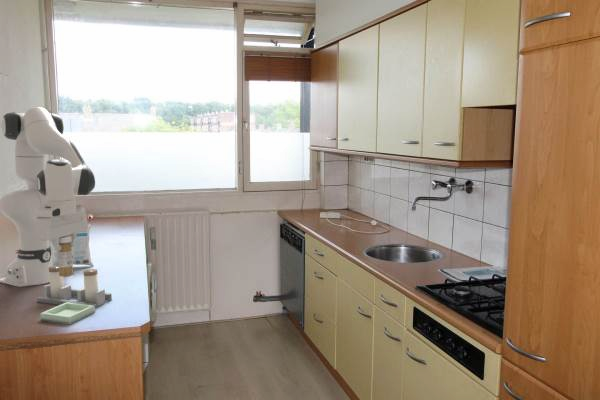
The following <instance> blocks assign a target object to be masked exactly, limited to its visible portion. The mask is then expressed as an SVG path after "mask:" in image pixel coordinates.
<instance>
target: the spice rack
mask: <svg viewBox="0 0 600 400" xmlns="http://www.w3.org/2000/svg"><path fill="white" fill-rule="evenodd" d="M105 291H106V290H105V289H100V290H99V289H98V291H97V292H95V303H96V304H94V303H86V302H85V287H82V288H80V289H76V288H72V285H68V284H67V285H65V286H64V287H62V288H60V299H55V298H51V292H50V283H49V284H46V285H44V286H43V293H44V294H43V296H38V297H37V298H36V300H37V302H38V303H43V304H51V305H58V306H59V305H61V304H64V303H66V302H70V303H78V304H85V305H93V306H95V307H96V306H97V307H98V306H101V305H103V304H106V302H110V301H112V300H113V297H112V293H111V292H110V293H109V292H105ZM72 297H73V298H77V301H76V300H71V299H72Z"/></svg>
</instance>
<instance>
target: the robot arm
mask: <svg viewBox="0 0 600 400" xmlns="http://www.w3.org/2000/svg"><path fill="white" fill-rule="evenodd" d="M0 127H1V128H0V129H1V131H2V134H3V136H4V137H5V138H6V139H7V140H11V141H12V140H13V141H15V145H14V147H15V148H14V162H15V163H14V165H15V174H16V176H17V177H18V178H19V179H21V180H23V181H25V182H26V185H27V189H23V190H22V189H21V190H13V191H10V192H8V193H5V194H3V195H2V196H1V198H0V212H1V214H2V215H3V216H4V217H6V218H7V219H9V220H11V222H12V223H13V224H14V226H15V227H16V230H17V232H18V234H17V235H18V239H19V241H18V242H19V248H20V249H18V250H16V251H15V254H17V256H16V258H15V259H14V260H13V261H12V262H11V263H10V264H8V265H7V266H6V268H5V276H4V277H2V278H0V283H2V284H7V285H10V286H14V287H18V288H21V287H28V286H29V287H30V286H37V285H44V284H48V283H50V278H49V267H51V266H53V264H52V259H51V251H52V248H51V245H50V243H51V242H52V244H53V245H54V249H55V251H61V250H62V245H59V243H58V241H59V238H60V237H63V236H67V235H69V236H71V240H72V241H71V247H74V242H75V239H76V233H79V232H83V231H87V229H88V225H89V223H88V217H87V213H86V209H85V207H84V206H83V205H82V204H78V205H77V200H76V195H77V196H88V195H89V194H90V193H91V192H92V191H93V190H94V189H95V187H96V178H95V174H94V173H93V171H92V169H91V168H90V167H89V166H88V165H87V163H86V162H85V160H84V158H83V157H82V155H81V154H80V152H79V150H78V149H77V146H76V145H75V144H74V142H73V141H72V140H71V139H70V138H68V137H66V136H65V135H63V134H64V131H65V123H64V121H63V118H62V117H61V115H59V114H56V113H51V112H49V111H48V110H47V109H46V108H43V107H39V106H33V107H31V108H29V109H28V110H26V111H25V112H15V111H13V112H8V113H5V114H4V115H3V116H2V119H1V122H0ZM46 155H47V156H54V157H58V158H57V159H56V158H55V159H49V160H47V161H46ZM50 240H51V241H50Z"/></svg>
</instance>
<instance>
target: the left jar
mask: <svg viewBox="0 0 600 400" xmlns="http://www.w3.org/2000/svg"><path fill="white" fill-rule="evenodd" d="M49 278H50V282H49V284H50V292H51V298H55V299H60V288H62V287H64V277H60V276H59V266H51V267H49Z"/></svg>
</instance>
